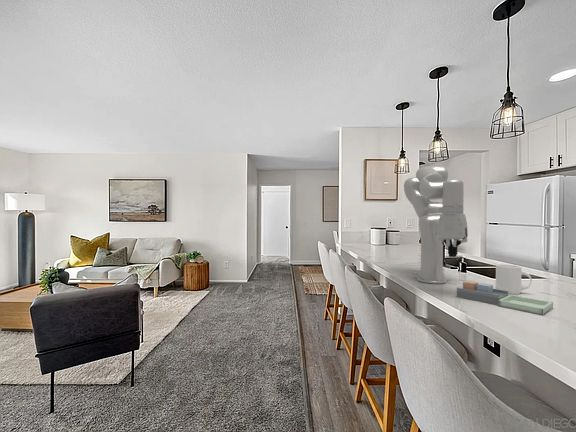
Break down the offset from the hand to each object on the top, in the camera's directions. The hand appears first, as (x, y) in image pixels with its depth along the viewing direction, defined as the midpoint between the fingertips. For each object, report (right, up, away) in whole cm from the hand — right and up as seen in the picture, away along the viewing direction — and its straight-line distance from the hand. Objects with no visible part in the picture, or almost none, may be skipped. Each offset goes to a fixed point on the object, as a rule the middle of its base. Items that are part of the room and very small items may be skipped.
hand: (452, 256), depth 126 cm
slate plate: (+7, -15, -8) cm, 18 cm away
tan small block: (+4, -12, -5) cm, 14 cm away
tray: (+15, -15, -19) cm, 28 cm away
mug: (+26, -15, +2) cm, 30 cm away
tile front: (+7, -12, -9) cm, 17 cm away
